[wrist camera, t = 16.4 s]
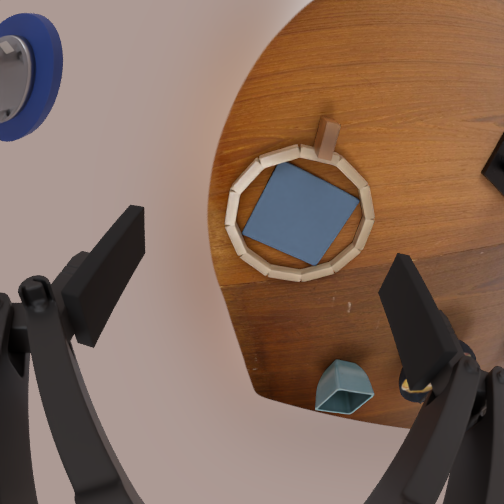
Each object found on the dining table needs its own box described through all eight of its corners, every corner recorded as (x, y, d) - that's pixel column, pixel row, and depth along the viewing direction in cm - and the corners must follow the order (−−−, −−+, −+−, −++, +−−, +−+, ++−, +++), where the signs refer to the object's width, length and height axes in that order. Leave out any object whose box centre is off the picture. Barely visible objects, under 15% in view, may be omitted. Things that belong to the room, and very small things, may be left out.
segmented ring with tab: (245, 100, 33) (243, 103, 30) (398, 139, 34) (411, 147, 31) (219, 263, 46) (215, 279, 43) (343, 283, 47) (348, 300, 44)
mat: (242, 232, 44) (241, 234, 43) (280, 158, 37) (280, 159, 37) (315, 264, 46) (315, 266, 45) (359, 199, 39) (360, 200, 39)
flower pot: (368, 359, 58) (375, 394, 50) (346, 381, 62) (350, 415, 55) (333, 350, 56) (338, 388, 49) (312, 374, 61) (314, 409, 54)
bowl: (385, 375, 61) (392, 412, 52) (401, 324, 52) (415, 365, 43) (448, 364, 58) (460, 397, 50) (472, 313, 49) (491, 349, 41)
